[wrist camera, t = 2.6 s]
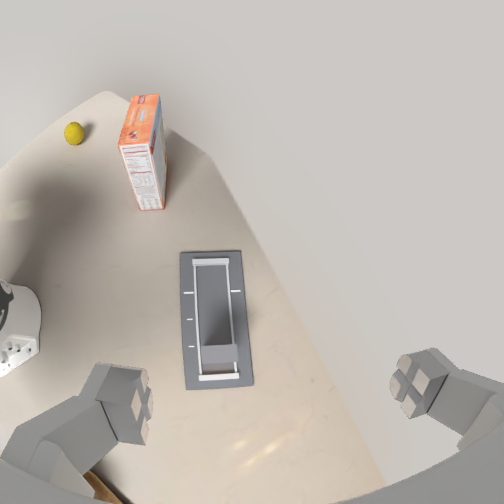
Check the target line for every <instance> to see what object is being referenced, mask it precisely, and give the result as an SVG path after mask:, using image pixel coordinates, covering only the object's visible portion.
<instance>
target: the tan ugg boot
mask: <svg viewBox="0 0 504 504" xmlns="http://www.w3.org/2000/svg"><path fill="white" fill-rule="evenodd" d="M83 478H84V479H85V480H86V481H87V482H88V483H89V485H90V486H91V487H92V488H93V490H94V491H95V493H94V499H97V500H101V501H104V502H108V503H112V504H123V503H122V502H121V501H120V500H119V499H118V498H117V497H116V496H115V495H114V494H113V493H112V492H111V491H110V490H109V489H108V488H107V487H106V486H105V484H104V483H103V482H102V481H101V480H100V479H99V478H98V477H97V476H96V475H95V474H93V473H92V472H91V471H90V470H88V471H87V472H86V473H85V474H84V475H83Z"/></svg>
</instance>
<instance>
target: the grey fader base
mask: <svg viewBox="0 0 504 504" xmlns="http://www.w3.org/2000/svg"><path fill="white" fill-rule="evenodd" d="M180 303H181V327H182V345H183V360H184V373H185V384H186V390H205V389H222V388H235V387H246V386H253V377H252V367H251V357H250V347H249V337H248V327H247V317H246V306H245V296H244V285H243V274H242V263H241V252H208V253H180ZM229 344H237V352H238V362H227V363H210V364H202V360H201V348H200V346H212V345H229Z"/></svg>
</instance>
